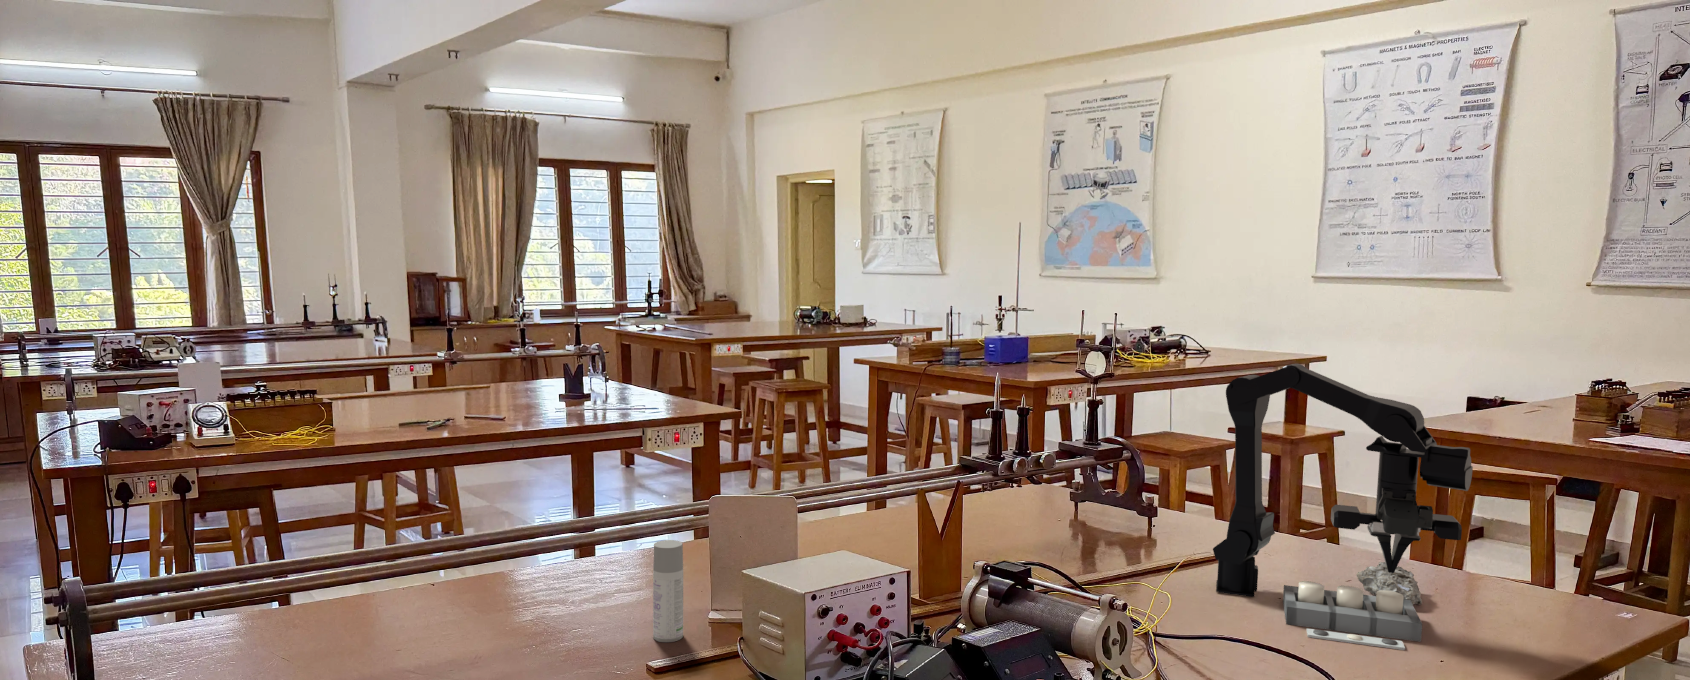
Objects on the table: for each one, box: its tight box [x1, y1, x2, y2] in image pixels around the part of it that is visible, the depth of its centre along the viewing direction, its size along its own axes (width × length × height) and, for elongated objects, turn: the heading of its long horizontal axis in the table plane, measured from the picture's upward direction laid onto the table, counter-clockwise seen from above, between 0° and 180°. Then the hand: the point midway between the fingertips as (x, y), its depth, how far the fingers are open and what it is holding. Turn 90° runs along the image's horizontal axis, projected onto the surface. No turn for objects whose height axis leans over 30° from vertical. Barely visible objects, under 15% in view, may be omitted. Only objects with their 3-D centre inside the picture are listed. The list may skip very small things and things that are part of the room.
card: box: [1306, 628, 1406, 651], centre depth 166 cm, size 14×3×1 cm, turn 70°
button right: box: [1375, 590, 1404, 614], centre depth 173 cm, size 4×4×4 cm
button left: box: [1298, 580, 1325, 605], centre depth 177 cm, size 4×4×4 cm
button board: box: [1282, 584, 1423, 643], centre depth 175 cm, size 20×12×3 cm, turn 70°
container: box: [652, 539, 684, 643], centre depth 162 cm, size 5×5×15 cm
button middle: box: [1336, 585, 1364, 609], centre depth 175 cm, size 4×4×4 cm
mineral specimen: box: [1356, 561, 1423, 606], centre depth 187 cm, size 6×11×12 cm
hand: (1390, 572), depth 172 cm, fingers closed
